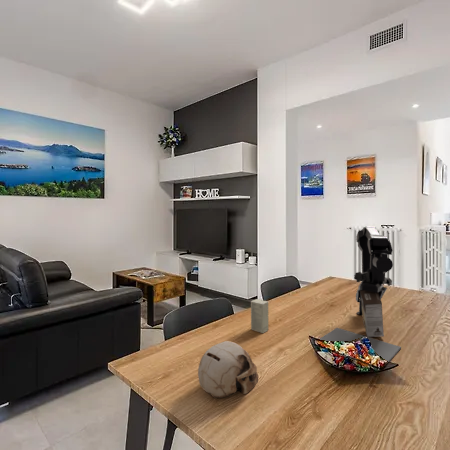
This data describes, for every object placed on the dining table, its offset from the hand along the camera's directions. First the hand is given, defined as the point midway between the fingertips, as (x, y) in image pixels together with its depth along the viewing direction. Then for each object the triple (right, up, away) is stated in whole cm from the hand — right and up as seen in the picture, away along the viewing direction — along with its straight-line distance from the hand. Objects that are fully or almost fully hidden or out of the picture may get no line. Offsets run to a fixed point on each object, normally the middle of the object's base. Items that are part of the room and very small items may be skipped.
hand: (376, 304), depth 122 cm
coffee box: (-2, -10, -2) cm, 10 cm away
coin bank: (-61, -13, -37) cm, 72 cm away
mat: (-14, -12, -13) cm, 22 cm away
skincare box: (-48, -11, +1) cm, 49 cm away
